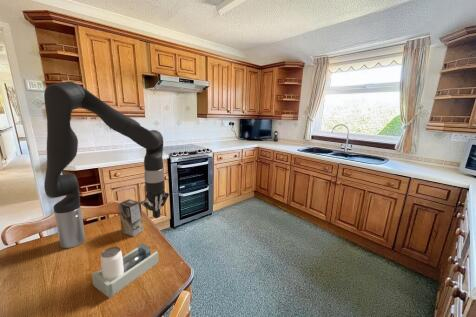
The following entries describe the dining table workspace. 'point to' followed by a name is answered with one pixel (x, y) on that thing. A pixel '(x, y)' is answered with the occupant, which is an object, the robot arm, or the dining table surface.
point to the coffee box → (131, 217)
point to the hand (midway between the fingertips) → (156, 217)
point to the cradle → (125, 278)
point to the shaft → (137, 257)
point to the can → (112, 263)
